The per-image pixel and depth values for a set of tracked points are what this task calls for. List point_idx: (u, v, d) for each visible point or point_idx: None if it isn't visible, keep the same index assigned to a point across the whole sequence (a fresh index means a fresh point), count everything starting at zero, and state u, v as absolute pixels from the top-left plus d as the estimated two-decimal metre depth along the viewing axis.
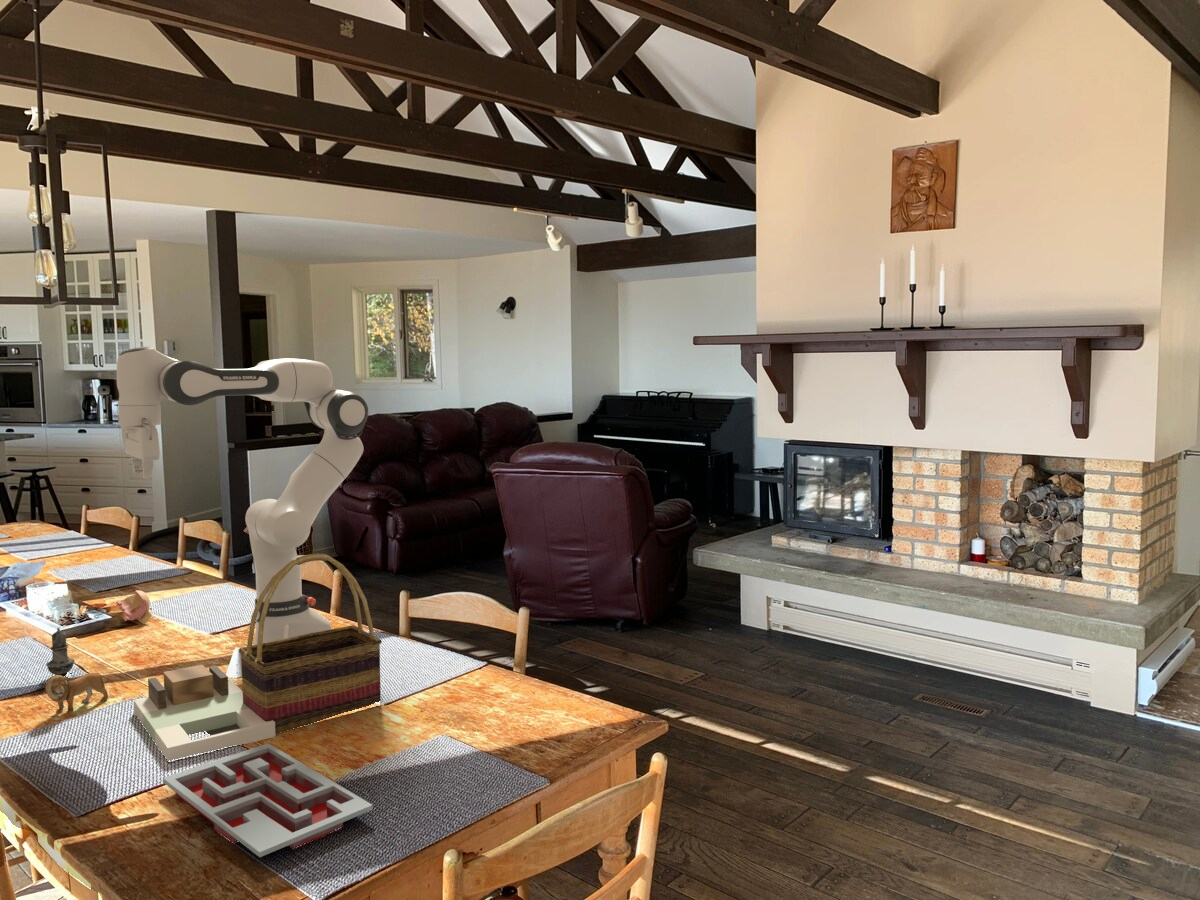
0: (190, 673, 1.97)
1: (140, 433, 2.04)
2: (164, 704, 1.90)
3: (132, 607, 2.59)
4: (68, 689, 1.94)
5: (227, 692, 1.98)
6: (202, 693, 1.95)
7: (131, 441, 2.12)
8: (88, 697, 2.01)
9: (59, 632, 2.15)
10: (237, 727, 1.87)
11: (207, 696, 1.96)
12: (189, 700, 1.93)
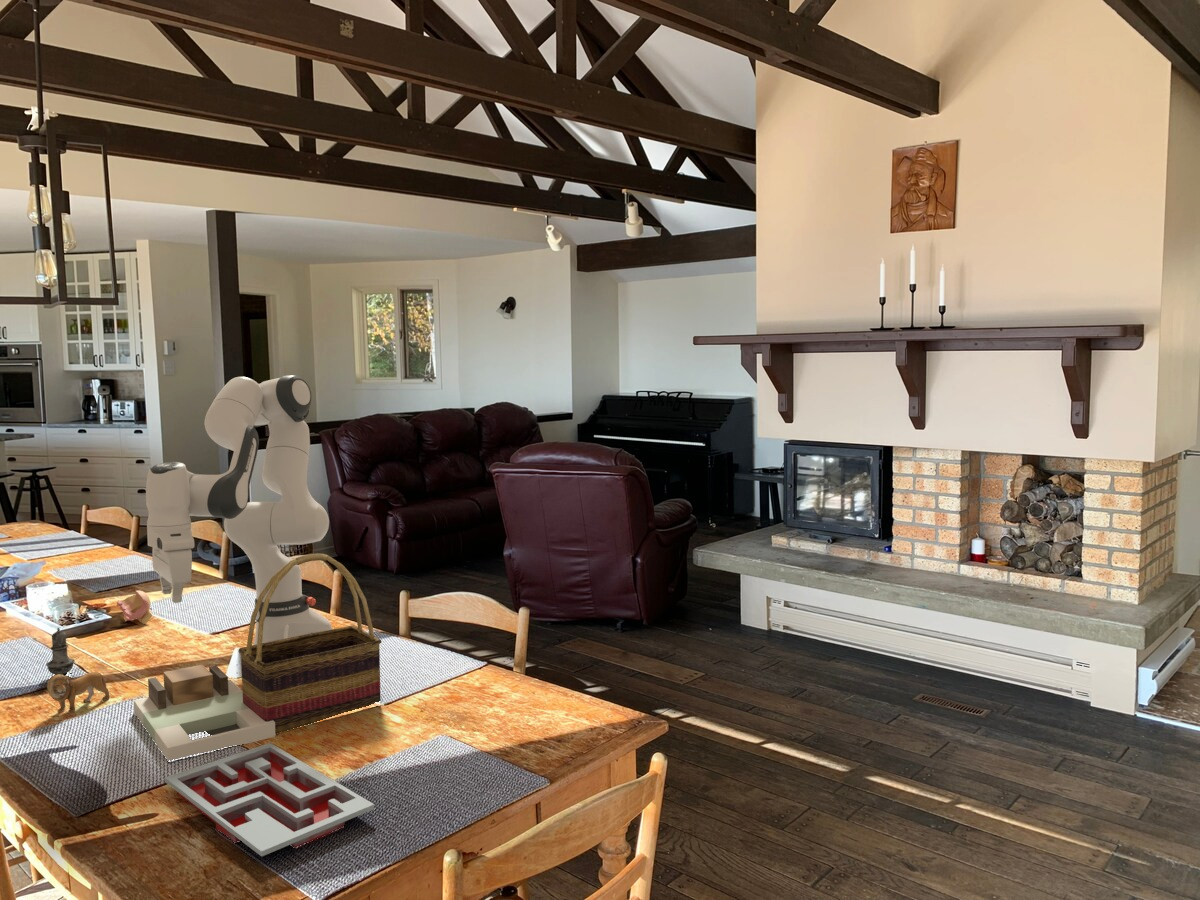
0: (190, 673, 1.97)
1: None
2: (164, 704, 1.90)
3: (132, 607, 2.59)
4: (70, 688, 1.94)
5: (227, 692, 1.98)
6: (202, 693, 1.95)
7: None
8: (89, 696, 2.02)
9: (59, 632, 2.15)
10: (237, 727, 1.87)
11: (207, 696, 1.96)
12: (189, 700, 1.93)
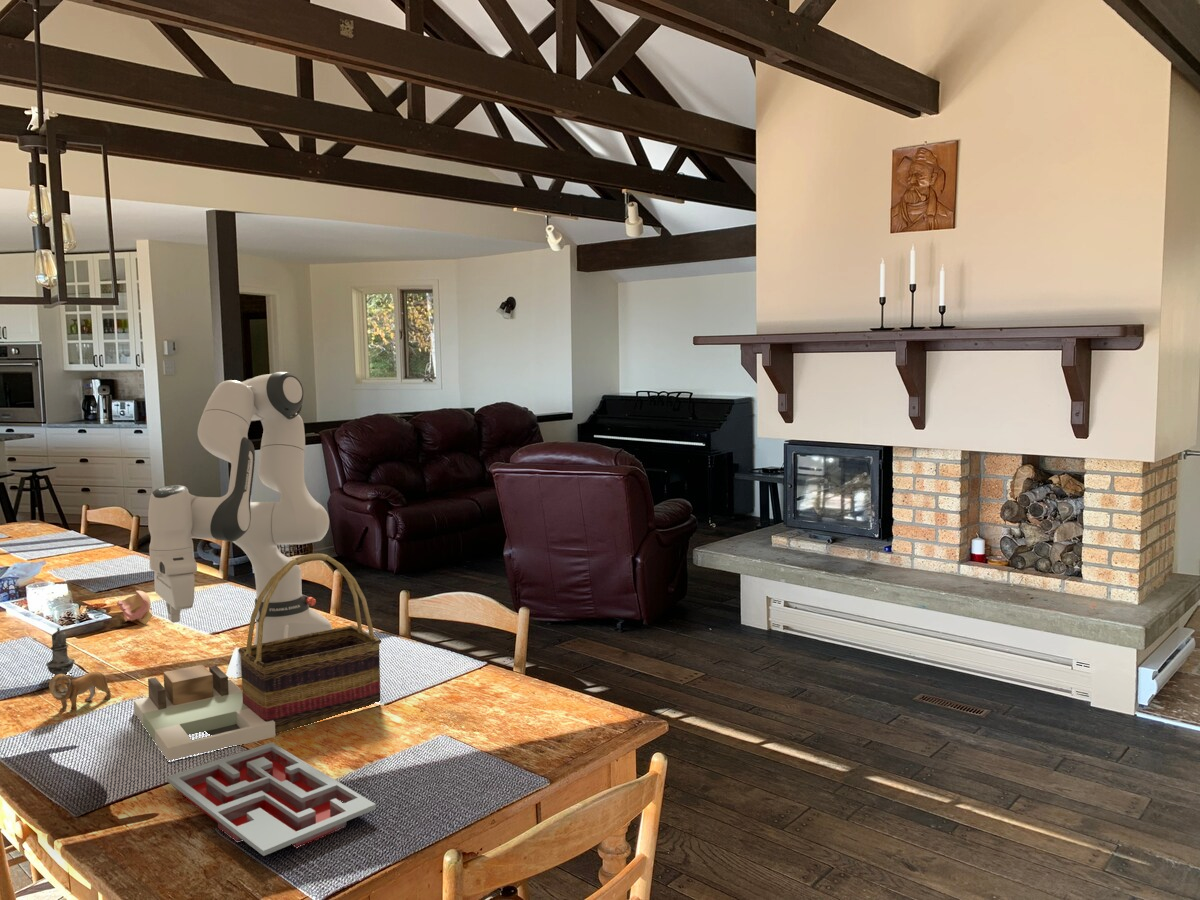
0: (190, 673, 1.97)
1: None
2: (164, 704, 1.90)
3: (133, 607, 2.58)
4: (71, 688, 1.95)
5: (227, 692, 1.98)
6: (202, 693, 1.95)
7: None
8: (91, 696, 2.02)
9: (59, 632, 2.15)
10: (237, 727, 1.87)
11: (207, 696, 1.96)
12: (189, 700, 1.93)
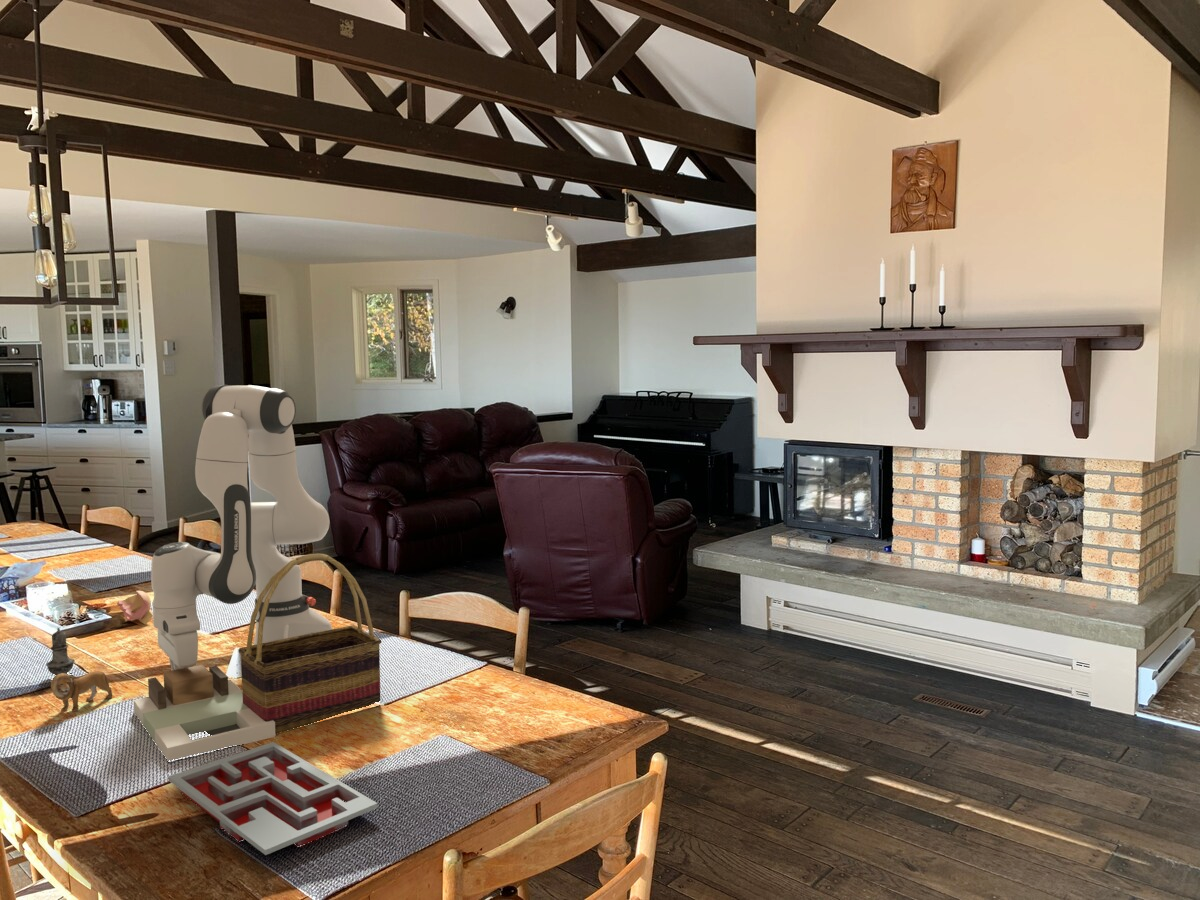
0: (190, 673, 1.97)
1: None
2: (164, 704, 1.90)
3: (133, 607, 2.58)
4: (73, 687, 1.95)
5: (227, 692, 1.98)
6: (202, 693, 1.95)
7: None
8: (92, 695, 2.02)
9: (59, 632, 2.15)
10: (237, 727, 1.87)
11: (207, 696, 1.96)
12: (189, 700, 1.93)
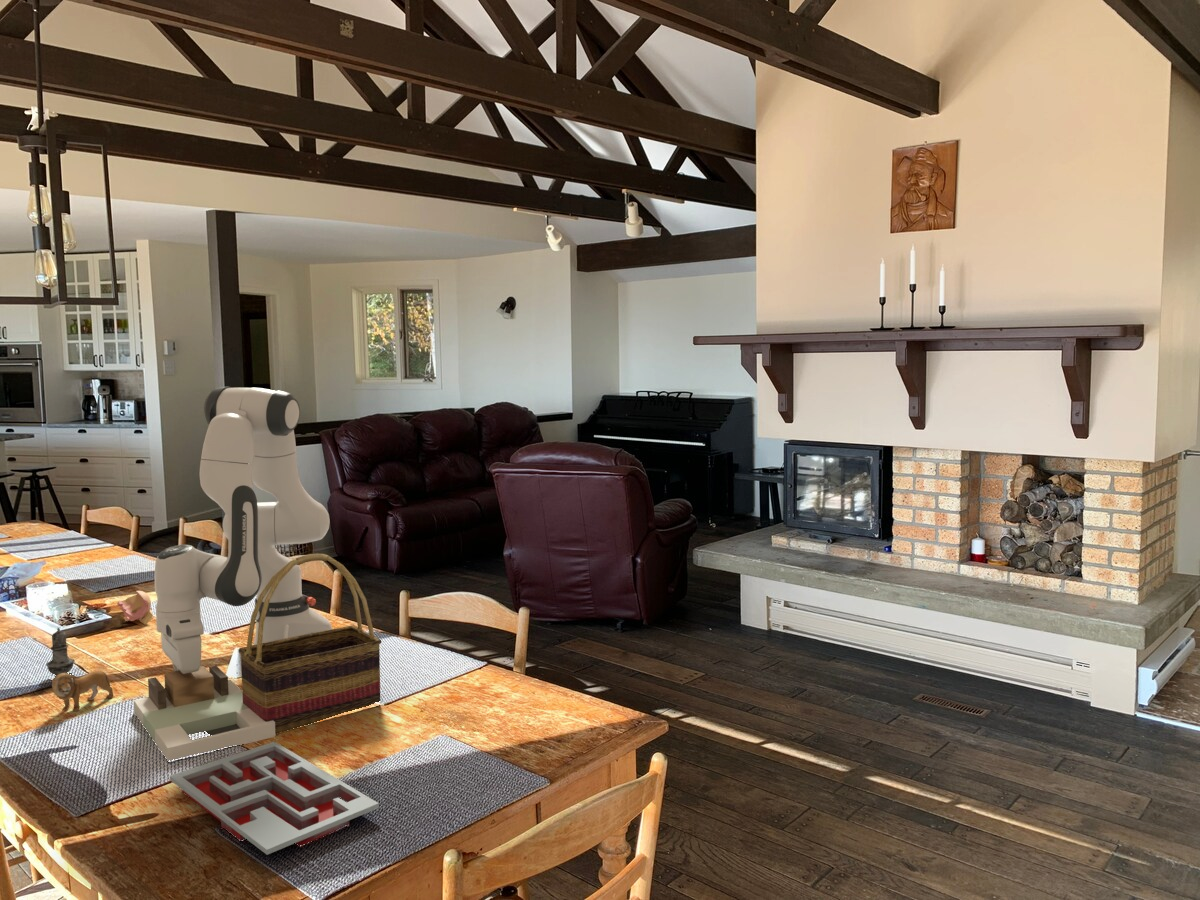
0: (191, 674, 1.96)
1: None
2: (164, 704, 1.90)
3: (133, 607, 2.58)
4: (74, 687, 1.95)
5: (227, 692, 1.98)
6: (203, 695, 1.94)
7: None
8: (93, 695, 2.03)
9: (59, 632, 2.15)
10: (237, 727, 1.87)
11: (208, 698, 1.95)
12: (190, 702, 1.93)
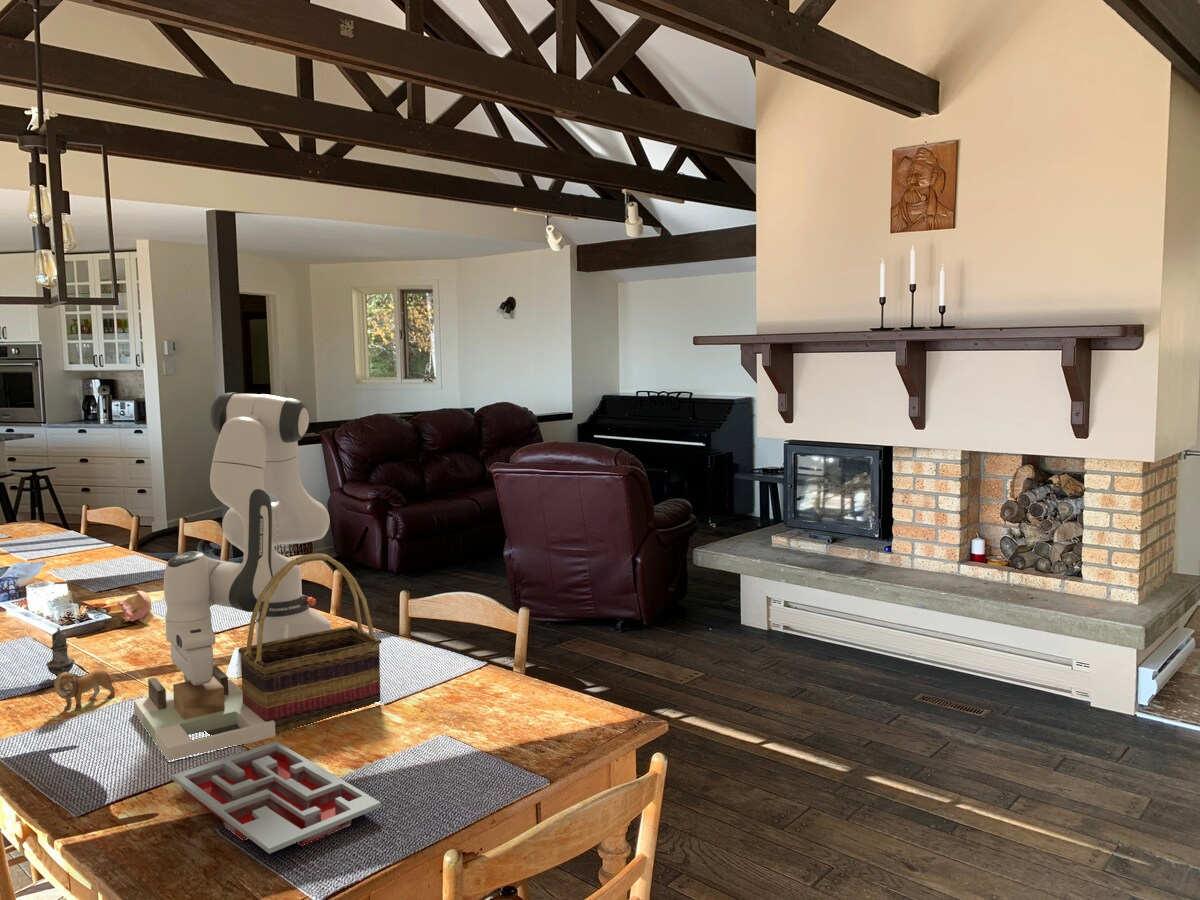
0: (201, 685, 1.89)
1: None
2: (164, 704, 1.90)
3: (134, 607, 2.58)
4: (76, 686, 1.96)
5: (227, 692, 1.98)
6: (213, 707, 1.88)
7: None
8: (95, 694, 2.03)
9: (59, 632, 2.15)
10: (237, 727, 1.87)
11: (218, 710, 1.88)
12: (199, 714, 1.86)
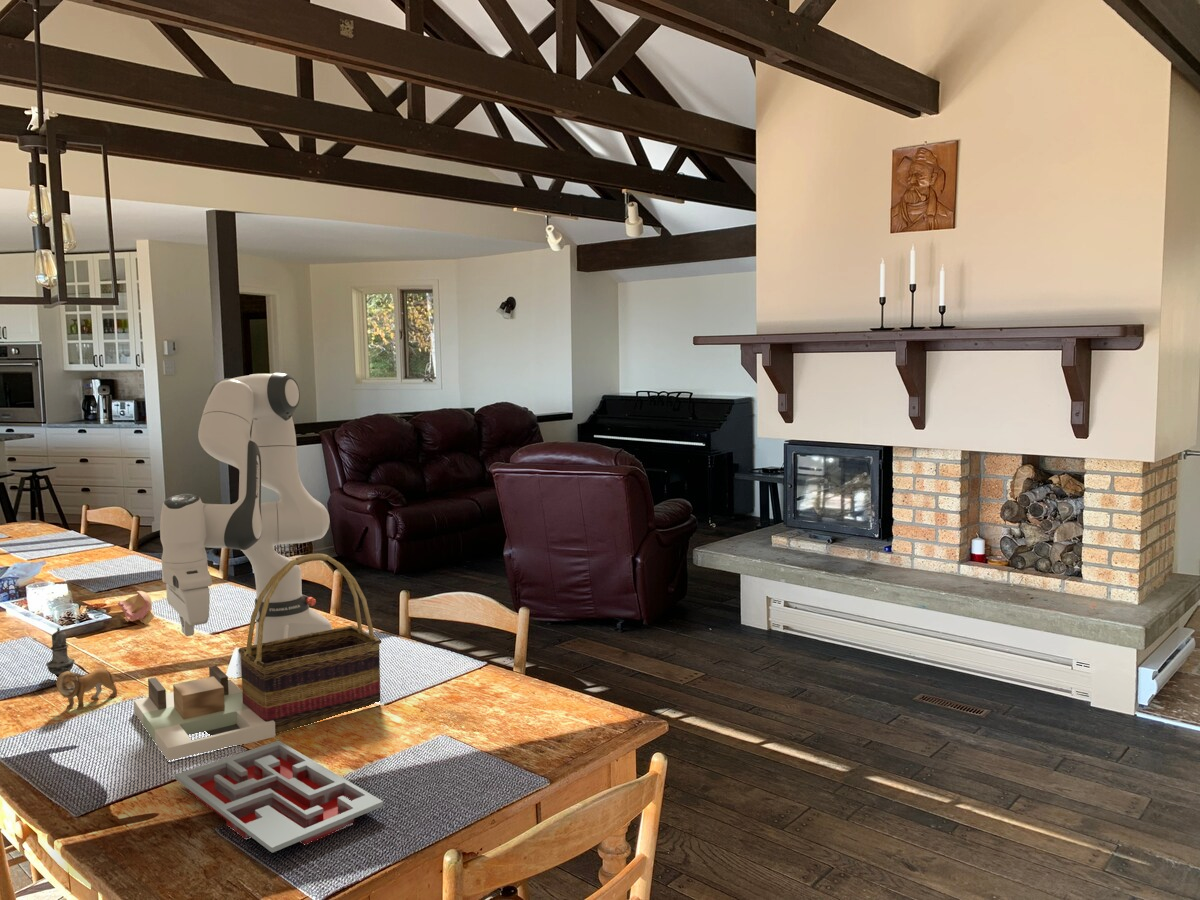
0: (201, 685, 1.89)
1: None
2: (164, 704, 1.90)
3: (134, 608, 2.58)
4: (78, 685, 1.96)
5: (227, 692, 1.98)
6: (213, 707, 1.88)
7: None
8: (97, 693, 2.04)
9: (59, 632, 2.15)
10: (237, 727, 1.87)
11: (218, 710, 1.88)
12: (199, 714, 1.86)
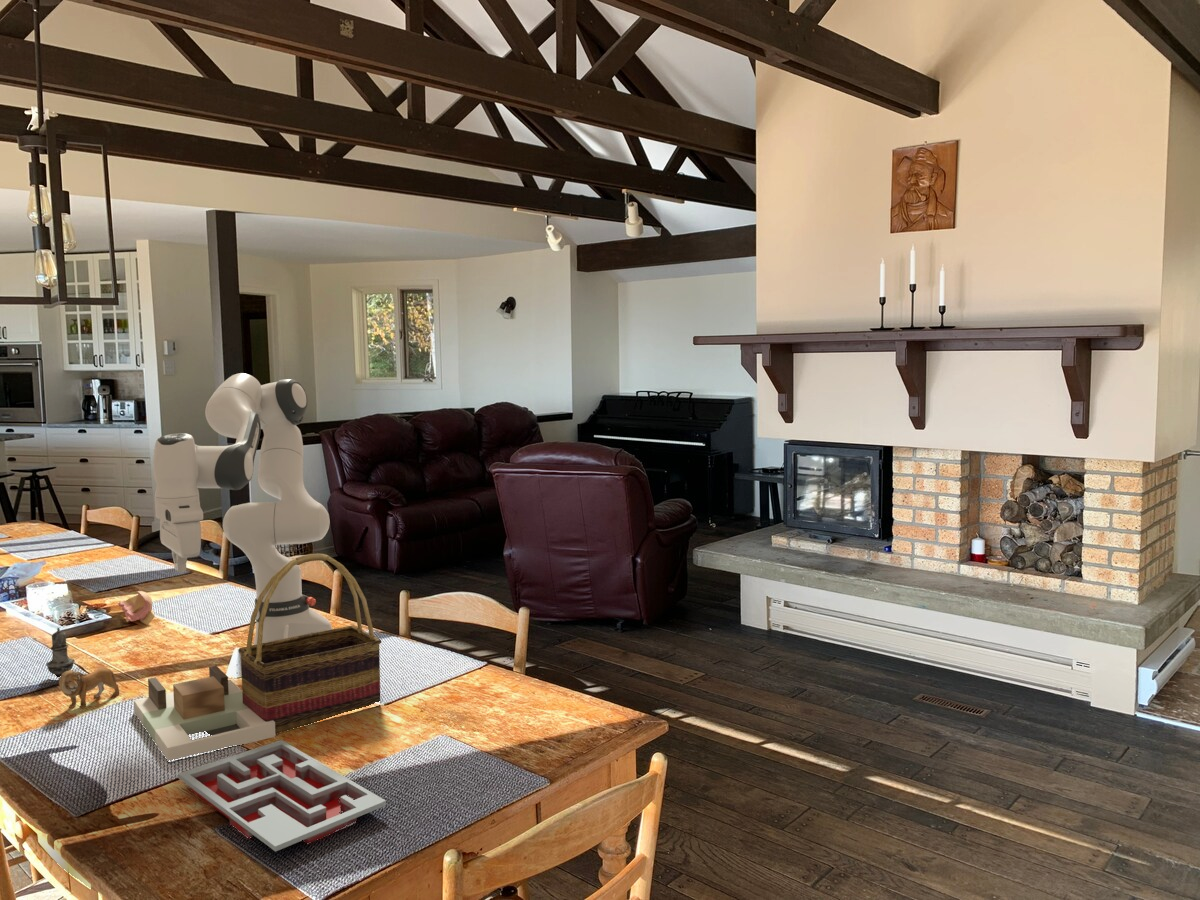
0: (201, 685, 1.89)
1: None
2: (164, 704, 1.90)
3: (135, 608, 2.58)
4: (81, 684, 1.97)
5: (227, 692, 1.98)
6: (213, 707, 1.88)
7: None
8: (100, 692, 2.04)
9: (59, 632, 2.15)
10: (237, 727, 1.87)
11: (218, 710, 1.88)
12: (199, 714, 1.86)
